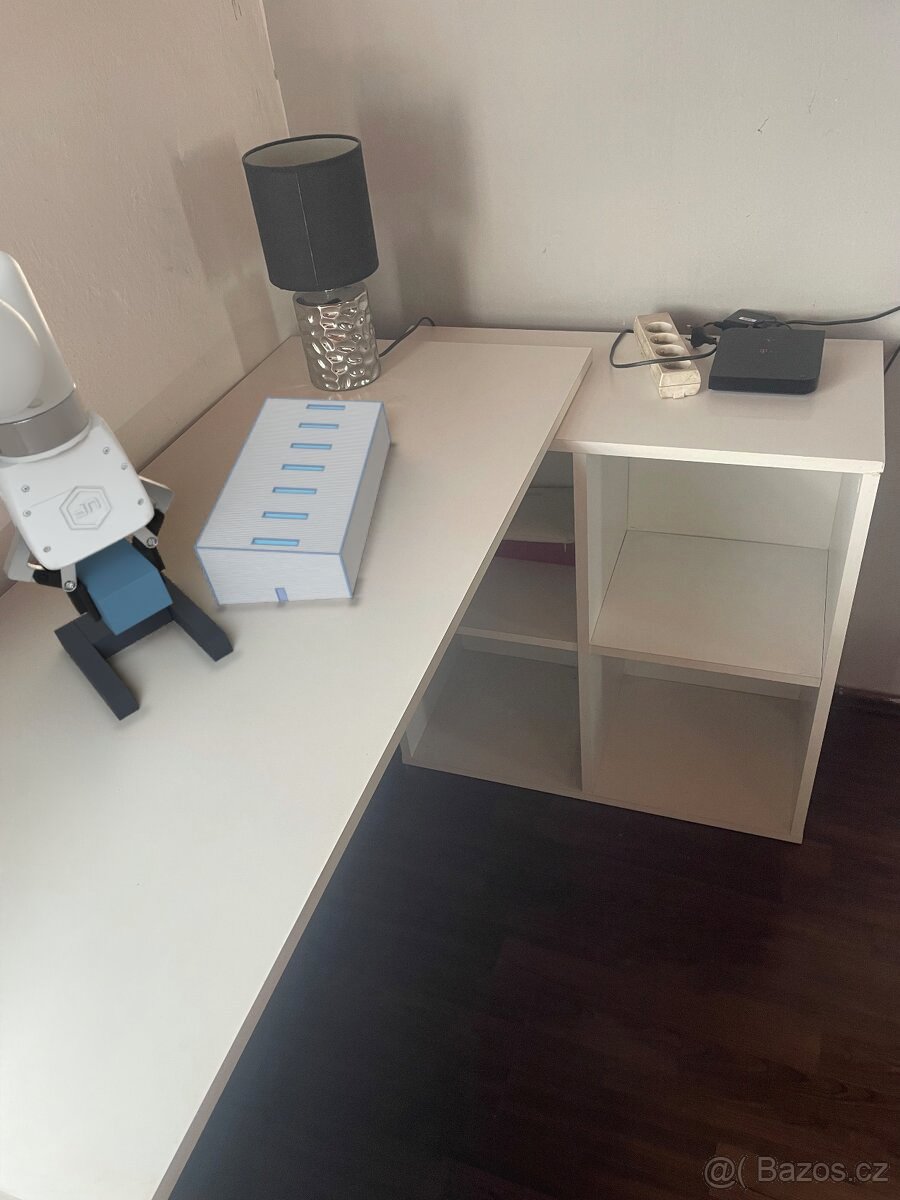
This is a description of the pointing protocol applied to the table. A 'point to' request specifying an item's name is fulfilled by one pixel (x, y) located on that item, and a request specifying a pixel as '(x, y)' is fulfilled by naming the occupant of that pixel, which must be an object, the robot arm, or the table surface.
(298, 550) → the warehouse
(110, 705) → the dark grey u-frame
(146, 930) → the table surface
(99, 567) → the blue rectangular block
